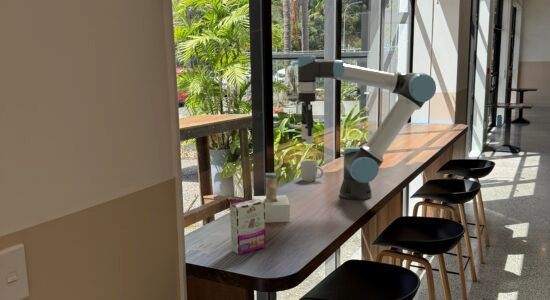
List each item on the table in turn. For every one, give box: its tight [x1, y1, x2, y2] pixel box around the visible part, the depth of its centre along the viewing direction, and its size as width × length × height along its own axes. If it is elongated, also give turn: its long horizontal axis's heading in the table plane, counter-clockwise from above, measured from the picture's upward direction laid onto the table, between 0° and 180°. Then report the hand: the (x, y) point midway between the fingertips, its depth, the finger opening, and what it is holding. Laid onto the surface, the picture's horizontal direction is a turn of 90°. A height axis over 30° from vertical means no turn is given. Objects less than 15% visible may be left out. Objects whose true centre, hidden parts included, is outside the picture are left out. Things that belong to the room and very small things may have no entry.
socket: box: [252, 194, 291, 223], centre depth 200 cm, size 14×14×7 cm
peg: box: [265, 172, 277, 202], centre depth 199 cm, size 4×4×18 cm
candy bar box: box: [229, 199, 267, 255], centre depth 164 cm, size 11×5×16 cm, turn 126°
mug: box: [299, 160, 324, 183], centre depth 262 cm, size 13×9×10 cm
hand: (307, 141), depth 213 cm, fingers open, 13 cm apart
